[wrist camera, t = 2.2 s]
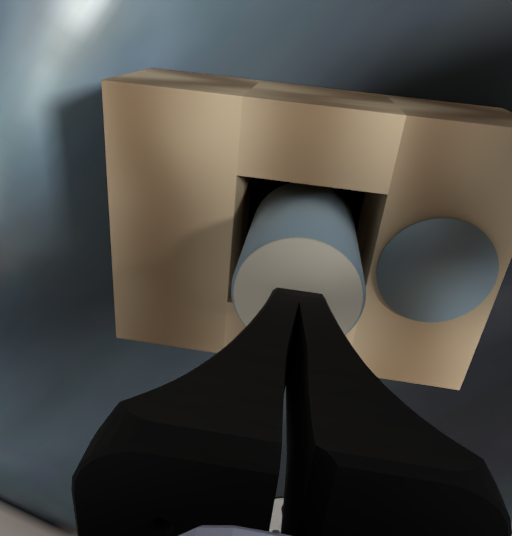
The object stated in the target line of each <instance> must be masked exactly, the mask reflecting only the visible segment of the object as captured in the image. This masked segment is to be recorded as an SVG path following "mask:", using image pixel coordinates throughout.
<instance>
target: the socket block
mask: <svg viewBox="0 0 512 536" xmlns="http://www.w3.org/2000/svg"><path fill="white" fill-rule="evenodd" d="M101 82H102V99H103V116H104V134H105V151H106V168H107V185H108V202H109V220H110V237H111V254H112V271H113V288H114V306H115V323H116V338H122V339H129V340H135V341H142V342H148V343H155V344H161V345H168V346H174V347H181V348H188V349H194V350H201V351H207V352H214V353H218V352H219V351H220V350H222V349H223V348H224V347H225V346H226V345H228V344H229V343H230V342H231V341H232V340H233V339H234V338H235V337H236V336H237V335H238V334H239V333H240V332H241V331H242V330H243V329H244V328H245V327H246V326H245V325H244V324H243V323H242V322H241V320H240V318H239V317H238V315H237V313H236V311H235V309H234V305H233V302H232V296H231V284H232V278H233V275H234V272H235V269H236V266H237V263H238V260H239V258H240V255H241V252H242V249H243V246H244V243H245V240H246V236H247V225H248V215H249V204H250V193H251V182H252V177H254V178H261V179H269V180H277V181H285V182H293V183H301V184H308V185H316V186H324V187H332V188H340V189H348V190H355V191H363V192H365V194H364V199H363V204H362V208H361V213H360V218H359V223H358V227H357V232H356V236H357V241H358V247H359V252H360V258H361V264H362V269H363V275H364V280H365V287H366V300H365V306H364V309H363V312H362V314H361V316H360V318H359V320H358V322H357V323H356V325H355V326H354V327H353V328H352V329H351V330H350V331H349V332H348V333H347V334H346V335H345V336H346V337H347V339H348V341H349V342H350V344H351V345H352V346H353V348H354V349H355V351H356V352H357V353H358V355H359V356H360V358H361V359H362V360H363V362H364V363H365V364H366V365H367V367H368V368H369V369H370V370H371V371H372V372H373V373H374V374H375V375H376V376H377V378H383V379H390V380H397V381H403V382H410V383H416V384H423V385H429V386H436V387H442V388H449V389H455V390H460V387H461V385H462V382H463V380H464V377H465V375H466V372H467V370H468V367H469V365H470V362H471V360H472V357H473V354H474V352H475V349H476V347H477V344H478V342H479V339H480V337H481V334H482V332H483V329H484V326H485V324H486V321H487V319H488V316H489V314H490V311H491V309H492V306H493V304H494V301H495V299H496V296H497V293H498V291H499V288H500V286H501V283H502V281H503V278H504V276H505V273H506V271H507V268H508V266H509V263H510V260H511V258H512V112H510V111H508V110H505V109H503V108H498V107H489V106H480V105H472V104H463V103H454V102H445V101H437V100H428V99H419V98H410V97H401V96H393V95H384V94H375V93H366V92H358V91H349V90H340V89H331V88H323V87H314V86H305V85H296V84H288V83H279V82H270V81H261V80H253V79H244V78H235V77H226V76H218V75H209V74H200V73H191V72H182V71H174V70H165V69H156V68H150V69H146V70H142V71H137V72H133V73H129V74H124V75H120V76H116V77H112V78H107V79H103V80H101Z"/></svg>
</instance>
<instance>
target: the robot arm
mask: <svg viewBox="0 0 512 536" xmlns="http://www.w3.org/2000/svg"><path fill="white" fill-rule="evenodd" d="M285 386H286V423H287V464H286V479H285V490H284V502H283V512H282V523H281V534H280V533H274V532H269V529H270V523H271V518H272V512H273V506H274V500H275V495H276V489H277V483H278V477H279V470H280V460H281V448H282V420H283V397H284V391H285ZM72 497H73V504H74V512H75V519H76V526H77V533H78V536H511V534H512V530H511V521H510V517H509V514H508V511H507V509H506V506H505V504H504V501H503V499H502V496H501V494H500V492H499V489H498V487H497V485H496V483H495V481H494V479H493V477H492V475H491V473H490V471H489V469H488V467H487V465H486V463H485V461H484V459H482V458H480V457H479V456H477V455H476V454H474V453H473V452H471V451H469V450H468V449H466V448H465V447H463V446H462V445H460V444H458V443H457V442H455V441H454V440H452V439H451V438H449V437H447V436H446V435H444V434H443V433H441V432H440V431H439V430H437V429H436V428H435V427H433V426H432V425H431V424H429V423H428V422H427V421H425V420H424V419H423V418H421V417H420V416H419V415H418V414H416V413H415V412H414V411H413V410H411V409H410V408H409V407H408V406H407V405H406V404H404V403H403V402H402V401H401V400H400V399H399V398H398V397H397V396H396V395H394V394H393V393H392V392H391V391H390V390H389V389H388V388H387V387H386V386H385V385H384V384H383V383H382V382H381V381H380V380H379V379H378V378H377V376H376V375H375V374H374V373H373V372H372V371H371V370H370V369H369V368H368V367H367V365H366V364H365V363H364V362H363V360H362V359H361V358H360V356H359V355H358V353H357V352H356V351H355V349H354V348H353V346H352V345H351V344H350V342H349V341H348V339H347V337H346V336H345V334H344V333H343V331H342V329H341V328H340V326H339V324H338V323H337V321H336V319H335V317H334V315H333V313H332V311H331V309H330V307H329V305H328V303H327V301H326V299H325V297H324V296H323V294H320V293H313V292H306V291H299V290H292V289H285V288H278V287H277V288H275V289H274V290H272V293H271V295H270V296H269V298H268V300H267V301H266V303H265V304H264V306H263V307H262V308H261V310H260V311H259V312H258V313H257V315H256V316H255V317H254V318H253V319H252V321H251V322H250V323H249V324H248V325H247V326H246V327H245V328H244V329H243V330H242V331H241V332H240V333H239V334H238V335H237V336H236V337H235V338H234V339H233V340H232V341H231V342H230V343H229V344H228V345H226V346H225V347H224V348H223V349H222V350H220V351H219V352H218V353H217V354H215V355H214V356H213V357H211V358H210V359H209V360H207V361H206V362H204V363H203V364H201V365H200V366H198V367H197V368H195V369H194V370H192V371H190V372H189V373H187V374H185V375H183V376H181V377H180V378H178V379H176V380H174V381H172V382H169V383H167V384H165V385H163V386H161V387H158V388H156V389H154V390H151V391H148V392H146V393H143V394H140V395H138V396H135V397H132V398H130V399H127V400H124V401H121V402H119V403H118V405H117V406H116V407H115V408H114V410H113V411H112V412H111V414H110V415H109V416H108V417H107V419H106V420H105V422H104V423H103V424H102V426H101V427H100V428H99V429H98V431H97V432H96V434H95V436H94V437H93V439H92V440H91V442H90V444H89V446H88V448H87V450H86V452H85V453H84V455H83V457H82V459H81V461H80V463H79V465H78V467H77V469H76V471H75V473H74V475H73V477H72Z"/></svg>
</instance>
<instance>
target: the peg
mask: <svg viewBox="0 0 512 536" xmlns="http://www.w3.org/2000/svg"><path fill="white" fill-rule="evenodd" d="M277 287H278V288H285V289H292V290H299V291H306V292H313V293H320V294H323V296H324V297H325V299H326V301H327V303H328V305H329V307H330V309H331V311H332V313H333V315H334V317H335V319H336V321H337V323H338V324H339V326H340V328H341V329H342V331H343V333H344V334H345V335H346V334H347V333H348V332H349V331H350V330H351V329H352V328H353V327H354V326H355V325H356V323H357V322H358V320H359V318H360V316H361V314H362V312H363V309H364V306H365V300H366V287H365V280H364V275H363V269H362V264H361V258H360V252H359V247H358V241H357V236H356V230H355V224H354V219H353V216H352V213H351V211H350V208H349V207H348V205H347V203H346V202H345V201H344V200H343V198H342V197H341V196H340V195H338V194H337V193H336V192H335V191H333V190H332V189H330V188H328V187H324V186H316V185H308V184H301V183H288V184H285V185H283V186H280V187H278V188H276V189H275V190H273V191H272V192H270V193H269V194H268V195H267V196H266V197H265V198H264V199H263V200H262V201H261V203H260V204H259V206H258V208H257V210H256V212H255V215H254V218H253V220H252V223H251V226H250V229H249V232H248V235H247V238H246V240H245V243H244V246H243V249H242V252H241V255H240V258H239V260H238V263H237V266H236V269H235V272H234V275H233V278H232V284H231V296H232V302H233V305H234V309H235V311H236V313H237V315H238V317H239V318H240V320H241V322H242V323H243V324H244V325H245V326H247V325H248V324H249V323H250V322H251V321H252V319H253V318H254V317H255V316H256V315H257V313H258V312H259V311H260V310H261V308H262V307H263V306H264V304H265V303H266V301H267V300H268V298H269V296H270V295H271V293H272V290H274V289H275V288H277Z"/></svg>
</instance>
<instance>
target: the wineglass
mask: <svg viewBox="0 0 512 536" xmlns="http://www.w3.org/2000/svg"><path fill="white" fill-rule="evenodd" d="M283 502H284V497H280V498H275V500H274V506H273V512H272V518H271V523H270V529H269V532H274V533H280V534H281V523H282V512H283Z"/></svg>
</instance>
